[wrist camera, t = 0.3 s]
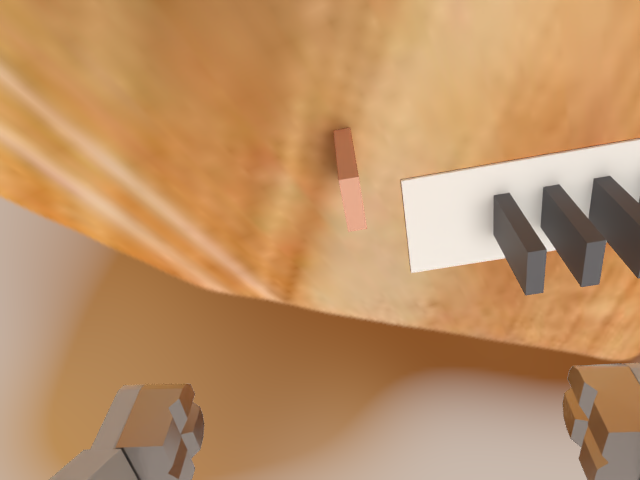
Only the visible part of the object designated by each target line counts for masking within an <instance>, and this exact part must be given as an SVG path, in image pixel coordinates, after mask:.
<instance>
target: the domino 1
mask: <svg viewBox="0 0 640 480" xmlns="http://www.w3.org/2000/svg"><path fill="white" fill-rule="evenodd" d="M493 235H494V237H495V239H496V241H497V243H498V244H499V246H500V248H501V250H502V252H503V254H504V256H505V258H506V259H507V261H508V263H509V265H510V267H511V269H512V271H513V273H514V275H515V276H516V278H517V280H518V282H519V284H520V286H521V288H522V290H523V291H524V293H525V295H531V294H538V293H543V290H544V277H545V265H546V252H547V249H546V248H545V246H544V245H543V243H542V242H541V240H540V238H539V237H538V235H537V234H536V232H535V231H534V229H533V228H532V226H531V225H530V223H529V222H528V220H527V219H526V217H525V216H524V214H523V213H522V211H521V210H520V208H519V206H518V205H517V203H516V202H515V200H514V199H513V197H512V196H511V194H510V193H504V194H498V195H494V213H493Z"/></svg>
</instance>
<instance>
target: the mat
mask: <svg viewBox="0 0 640 480" xmlns="http://www.w3.org/2000/svg"><path fill="white" fill-rule="evenodd" d="M605 176H611V177H612V178H613V179H614V180H615V181H616V182H617V183H618V184H619V185H620V186H621V187H622V188H623V189H624V190H625V191H627V192H628V193H629V194H630V195H631V196H632V197H633V198H634V199H635V200H636V201H637V202H638V203H639V198H640V138H638V139H632V140H627V141H621V142H615V143H609V144H604V145H598V146H592V147H586V148H581V149H575V150H569V151H563V152H558V153H552V154H546V155H540V156H535V157H529V158H523V159H517V160H512V161H506V162H500V163H494V164H489V165H483V166H477V167H471V168H466V169H460V170H454V171H448V172H443V173H437V174H431V175H425V176H420V177H414V178H408V179H402V180H401V185H402V194H403V204H404V213H405V222H406V231H407V240H408V249H409V258H410V267H411V273H414V272H420V271H426V270H433V269H439V268H446V267H452V266H458V265H465V264H471V263H477V262H484V261H490V260H496V259H503V258H505V256H504V254H503V252H502V250H501V248H500V246H499V244H498V243H497V241H496V239H495V237H494V235H493V213H494V195H498V194H504V193H510V194H511V196H512V197H513V199H514V200H515V202H516V203H517V205H518V206H519V208H520V210H521V211H522V213H523V214H524V216H525V217H526V219H527V220H528V222H529V223H530V225H531V226H532V228H533V229H534V231H535V232H536V234H537V235H538V237H539V238H540V240H541V242H542V243H543V245H544V246H545V248H546V249H547V251H554V250H556V249H555V248H554V246H553V245H552V243H551V242H550V240H549V239H548V237H547V236H546V235H545V233H544V232H543V230H542V229H541V227H540V226H541V212H542V197H543V187H546V186H552V185H558V184H560V186H561V187H562V188H563V189H564V190H565V192H566V193H567V194H568V195H569V196H570V198H571V199H572V200H573V201H574V202H575V203H576V205H577V206H578V207H579V208H580V209H581V211H582V212H583V213H584V214H585V215H586V217H587V218H589V210H590V203H591V195H592V188H593V180H594V178H599V177H605ZM606 242H607V241H606Z"/></svg>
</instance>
